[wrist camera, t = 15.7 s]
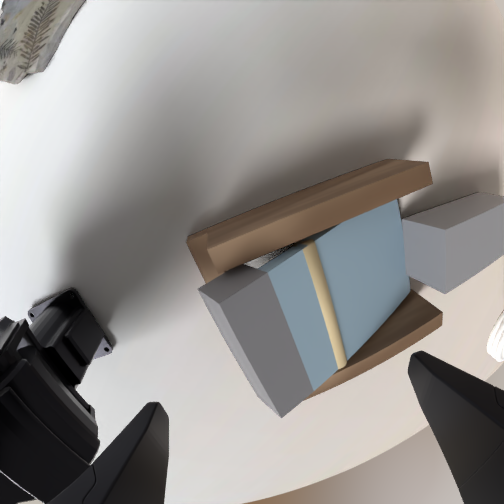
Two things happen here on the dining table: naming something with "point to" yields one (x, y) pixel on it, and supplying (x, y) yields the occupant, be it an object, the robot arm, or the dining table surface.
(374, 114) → the dining table surface
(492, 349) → the coaster
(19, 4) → the fossil rock
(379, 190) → the hatch frame
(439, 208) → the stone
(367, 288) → the trapdoor
